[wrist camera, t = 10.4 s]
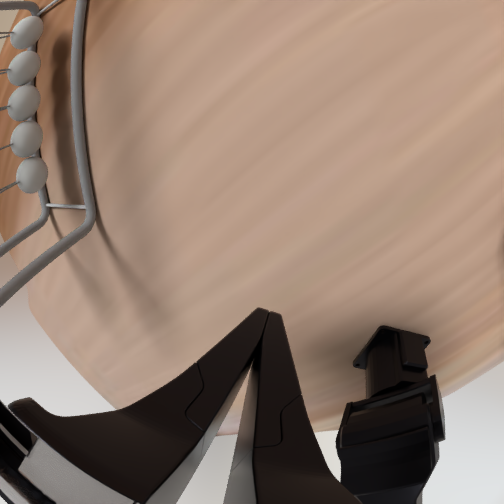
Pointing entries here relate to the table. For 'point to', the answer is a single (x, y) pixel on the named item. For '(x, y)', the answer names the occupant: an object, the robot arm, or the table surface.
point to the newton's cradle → (31, 135)
